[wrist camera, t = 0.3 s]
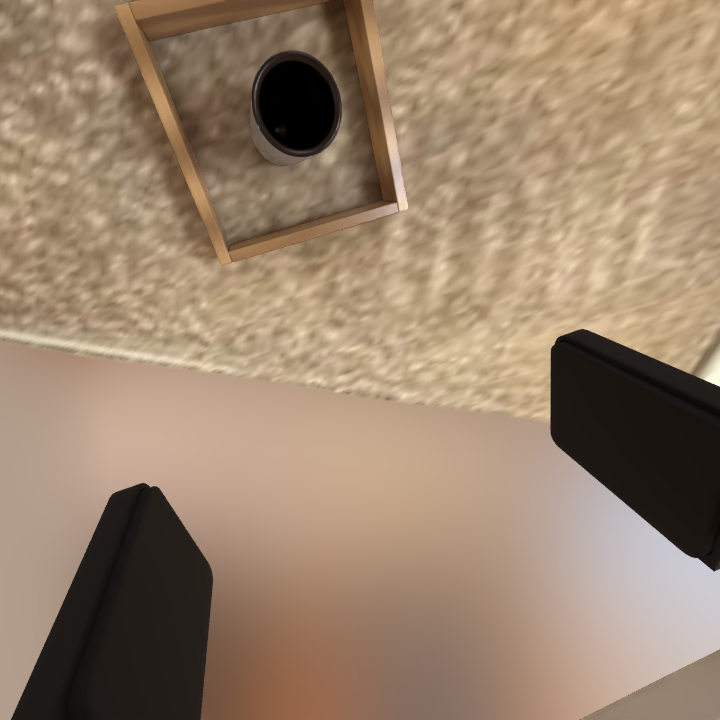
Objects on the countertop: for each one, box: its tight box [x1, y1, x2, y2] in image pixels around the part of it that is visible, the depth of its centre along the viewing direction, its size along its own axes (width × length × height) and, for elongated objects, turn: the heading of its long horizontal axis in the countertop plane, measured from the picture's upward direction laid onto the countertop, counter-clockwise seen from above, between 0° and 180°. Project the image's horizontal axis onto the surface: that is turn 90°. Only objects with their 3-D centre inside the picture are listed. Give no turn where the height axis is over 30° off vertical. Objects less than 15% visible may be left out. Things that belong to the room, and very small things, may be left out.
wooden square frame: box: [114, 0, 408, 265], centre depth 27 cm, size 15×15×4 cm
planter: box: [250, 50, 342, 166], centre depth 24 cm, size 4×4×10 cm
